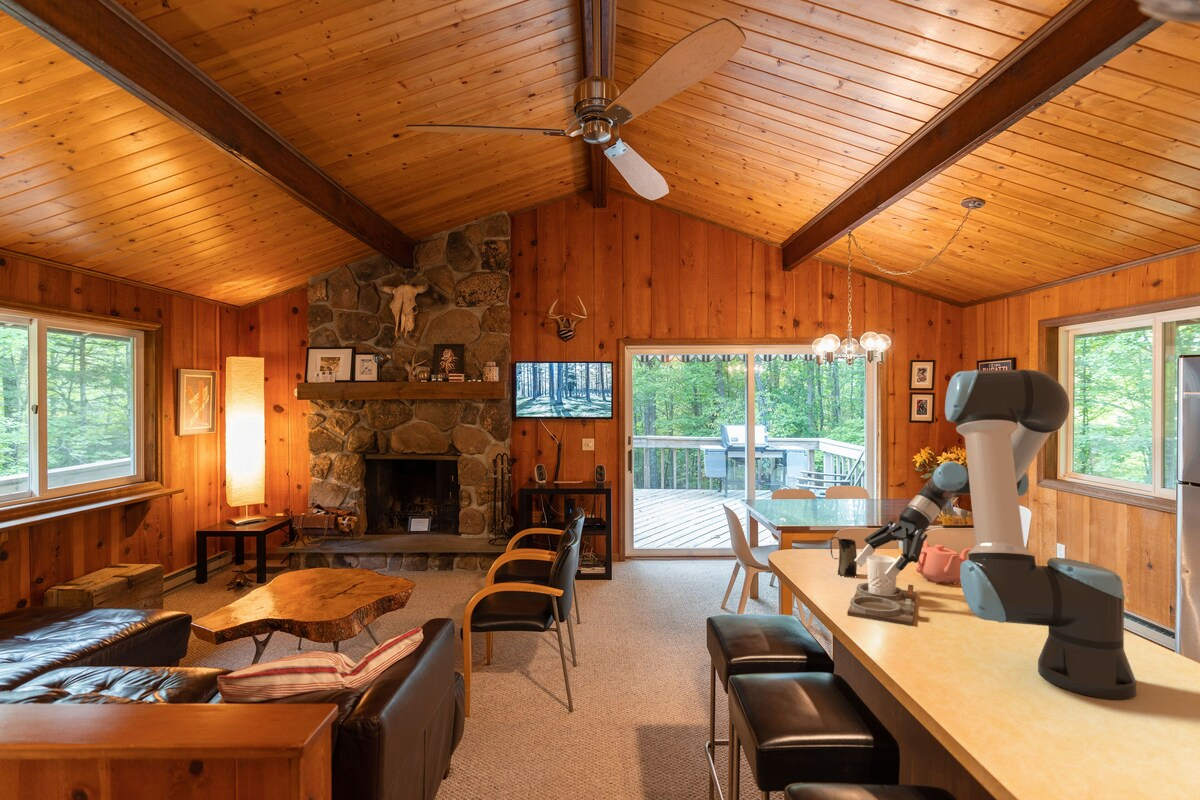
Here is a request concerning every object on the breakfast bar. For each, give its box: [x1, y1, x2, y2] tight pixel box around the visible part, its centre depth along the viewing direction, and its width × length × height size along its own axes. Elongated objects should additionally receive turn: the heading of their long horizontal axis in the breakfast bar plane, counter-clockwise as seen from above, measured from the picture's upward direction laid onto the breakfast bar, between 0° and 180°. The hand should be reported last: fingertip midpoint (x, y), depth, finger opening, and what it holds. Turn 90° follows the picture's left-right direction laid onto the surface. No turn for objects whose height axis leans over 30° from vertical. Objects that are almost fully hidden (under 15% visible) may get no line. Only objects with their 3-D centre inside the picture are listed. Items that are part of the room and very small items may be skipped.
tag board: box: [846, 582, 917, 626], centre depth 164 cm, size 27×15×4 cm, turn 150°
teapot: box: [915, 540, 973, 585], centre depth 187 cm, size 14×14×11 cm
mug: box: [829, 536, 858, 578], centre depth 193 cm, size 8×6×12 cm
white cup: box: [866, 554, 897, 595], centre depth 170 cm, size 8×8×10 cm
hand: (872, 570), depth 171 cm, fingers open, 13 cm apart
